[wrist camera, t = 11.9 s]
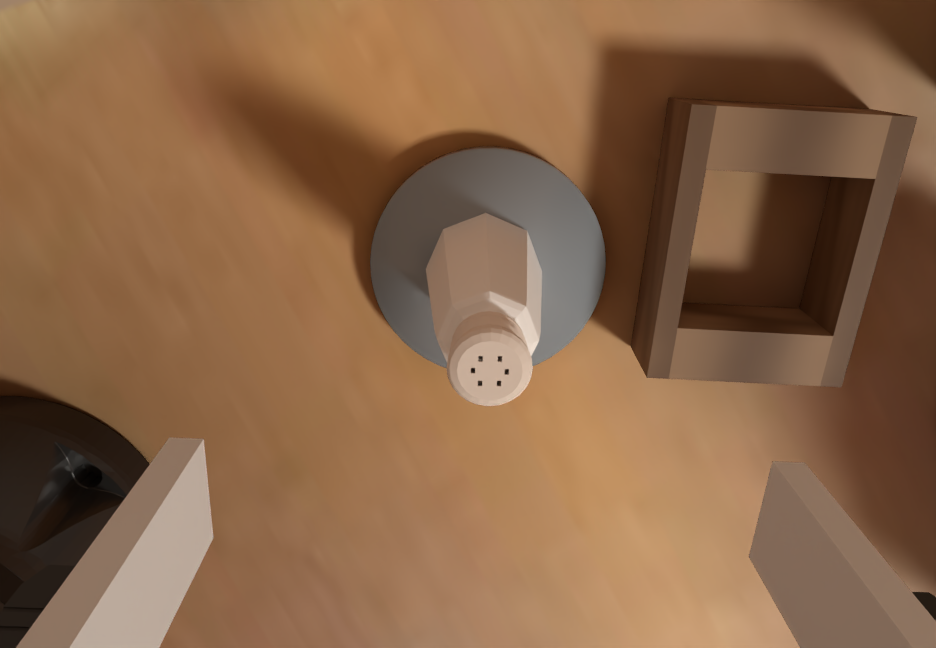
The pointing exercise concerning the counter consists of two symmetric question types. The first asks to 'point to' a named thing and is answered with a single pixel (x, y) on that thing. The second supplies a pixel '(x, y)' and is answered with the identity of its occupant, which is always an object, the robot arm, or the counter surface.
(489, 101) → the counter surface
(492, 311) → the salt shaker
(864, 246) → the pocket block
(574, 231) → the grey plate
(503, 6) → the counter surface
